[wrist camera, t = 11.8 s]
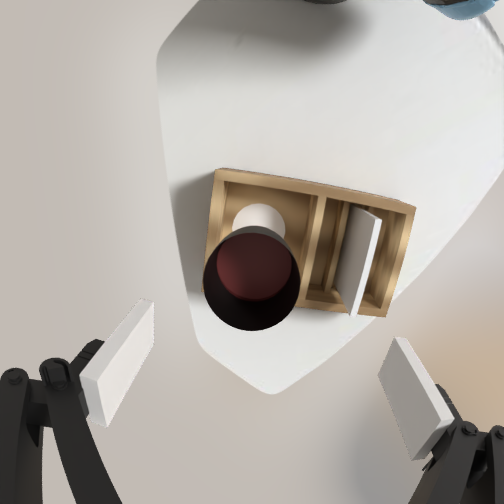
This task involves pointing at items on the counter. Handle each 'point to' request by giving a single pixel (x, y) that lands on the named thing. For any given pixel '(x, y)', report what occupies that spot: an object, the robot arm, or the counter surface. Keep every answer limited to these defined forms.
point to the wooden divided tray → (316, 232)
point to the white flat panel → (356, 257)
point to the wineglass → (253, 272)
